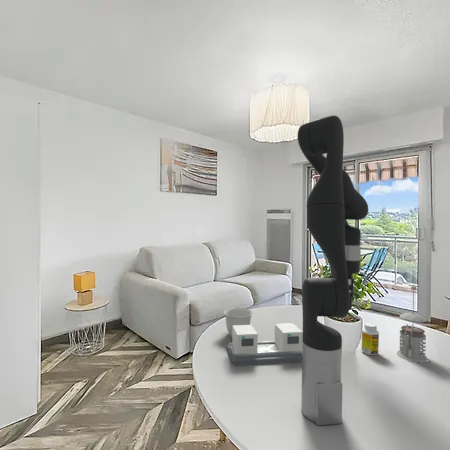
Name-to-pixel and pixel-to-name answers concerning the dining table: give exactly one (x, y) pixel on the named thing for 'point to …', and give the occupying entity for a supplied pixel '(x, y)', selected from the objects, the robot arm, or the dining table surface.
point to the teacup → (237, 317)
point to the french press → (412, 337)
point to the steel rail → (264, 350)
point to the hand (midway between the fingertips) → (345, 304)
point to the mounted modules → (284, 338)
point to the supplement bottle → (370, 339)
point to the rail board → (264, 359)
